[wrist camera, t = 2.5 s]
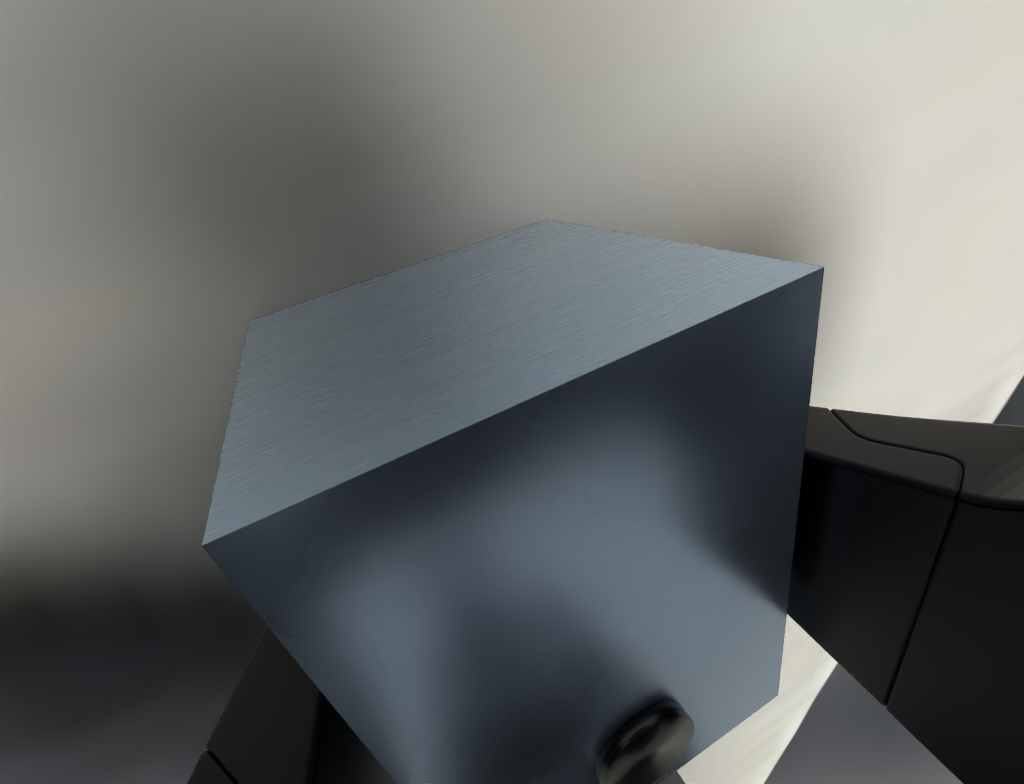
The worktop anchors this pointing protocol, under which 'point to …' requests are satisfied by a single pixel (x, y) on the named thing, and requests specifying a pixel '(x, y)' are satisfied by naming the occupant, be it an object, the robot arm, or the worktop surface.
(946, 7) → the worktop surface
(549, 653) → the block
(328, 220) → the worktop surface
